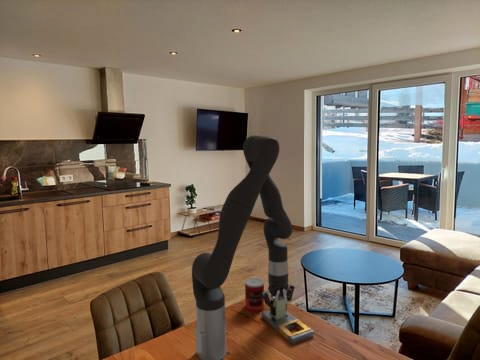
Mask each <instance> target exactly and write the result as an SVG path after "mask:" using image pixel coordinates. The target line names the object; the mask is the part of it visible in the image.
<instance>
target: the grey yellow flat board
mask: <svg viewBox="0 0 480 360" xmlns="http://www.w3.org/2000/svg"><path fill="white" fill-rule="evenodd" d="M261 318H262V319H264V320H265V321H266V322H267V323H268V324H269V325H270V326H272V328H273V329H275V330H276V331H277V332H278V333H279V334H280V335H281V336H282V337H283V338H285V339H286V340H287V341H288V342H289V343H291V345H294V344H297V343H300V342H302V341H305V340H309V339H311V338H314V330H313V329H312V328H311V327H308V325H306V324H305V323H303V322H302V321H301V320H300V319H299V318H297V317H295V315H293V314H291V313H290V312H289V311H288V310H286V317H285V318H282V319H279V320H276V319H274V318H273V317H272V316H271V313H270V309H268V310H265V311H262V312H261ZM294 328H296V329H298V330H299V331H296V332H293V333H292V332H291V331H290V330H293V329H294Z"/></svg>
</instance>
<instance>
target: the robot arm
mask: <svg viewBox="0 0 480 360" xmlns="http://www.w3.org/2000/svg"><path fill="white" fill-rule="evenodd" d="M242 150H243V151H242V152H243V155H244V158H245V161H246V163H247V165H248V168H249V172H248V173H247V174H246V176H245V177H244V178H243V179H241V180H240V181H239V183H237V184H236V185H235V186H234V187H233V188H232V189H231V190H230V192H229V193H228V195H227V197H226V199H225V201H224V203H223V205H222V208H221V210H220V214H219V220H218V231H217V232H218V234H217V240H216V243H215V246H214V248H213V250H212V253H211V252H202V253H200V254H198V255H197V256H196V257H195V258H194V260H193V262H192V265H191V279H192V280H191V281H192V291H193V296H194V299H195V308H196V309H195V310H196V311H195V312H196V325H195V326H194V331H195V333H194V334H195V353H196V355H197V356H198V358H199V360H222V359H224V358H225V357H226V355H227V328H226V327H227V325H226V299H225V298H226V297H225V294H224V291H223V290H222V288H221V286H222V285H223V284H224V283H225V281H226V280H227V279H228V276H229V274H230V270H231V267H232V263H233V260H234V257H235V254H236V251H237V248H238V245H239V243H240V240H241V239H242V236H243V233H244V230H245V228H246V225H248V224H247V223H248V222H249V220H250V218H251V214H252V213H253V211H254V208H255V205H256V202H257V200H258V197H259V196H260V201H261V205H262V209H263V212H264V215H265V216H266V217H267V219H265V221H264V223H263V233H264V234H263V235H264V238H265V242H266V246H267V250H268V261H267V262H268V264H267V273H268V274H267V281H268V288H267V289H266V290H264V291H262V296H263V298H264V305H267V306H268V307H269V310H270V313H271V314H272V315H273V316H276V307H275V306H276V301H278V298H279V297H283V298H284V299H286V311H288V308H287V307H288V306H287V304H288V302H291V301H292V298H293V295H294V291H295V286H294V284H292V283H289V261H288V245H286V243H283V242H281V241H280V240H281V239H282V240H287V239H289V238H290V237H291V235H292V233H293V224H292V222H291V219H290V218H289V216H288V214H287V212H286V210H285V209H284V206H283V202H282V197H281V193H280V190H279V188H278V186H277V185H276V183H275V181H274V180H273V179H272V177H271V175H270V173H271V171H272V169H273V167H274V166H275V164H276V162H277V160H278V157H279V153H280V143H279V141H278V139H276V138H275V137H272V136H265V135H257V134H256V135H255V134H253V135H250V136H248V137H246V139H245V140H244V142H243V147H242ZM279 239H280V240H279ZM274 297H275V298H274Z"/></svg>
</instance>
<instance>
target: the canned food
mask: <svg viewBox="0 0 480 360" xmlns="http://www.w3.org/2000/svg"><path fill="white" fill-rule="evenodd" d="M244 290H245V291H244V292H245V293H244V295H245V307H246V309H247V310H248V311H250V312H253V313H254V312H261V311H263V310H264V307H265V301H264V298H263V296H262V291H264V292H265V282H264V280H263V279H261V278H258V277H252V278H248V279H246V280H245V281H244Z"/></svg>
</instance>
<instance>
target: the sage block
mask: <svg viewBox="0 0 480 360" xmlns="http://www.w3.org/2000/svg"><path fill="white" fill-rule="evenodd" d="M274 298H275V297H274ZM275 307H276V316H273V315H272V314H271V316H272V317H273V318H274V319H276V320H279V319H282V318H285V317H286V311H287V310H286V299H284V298H283V297H279V298H278V301H276V306H275Z"/></svg>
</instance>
